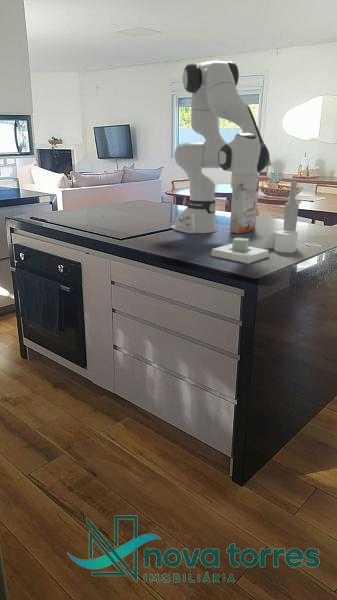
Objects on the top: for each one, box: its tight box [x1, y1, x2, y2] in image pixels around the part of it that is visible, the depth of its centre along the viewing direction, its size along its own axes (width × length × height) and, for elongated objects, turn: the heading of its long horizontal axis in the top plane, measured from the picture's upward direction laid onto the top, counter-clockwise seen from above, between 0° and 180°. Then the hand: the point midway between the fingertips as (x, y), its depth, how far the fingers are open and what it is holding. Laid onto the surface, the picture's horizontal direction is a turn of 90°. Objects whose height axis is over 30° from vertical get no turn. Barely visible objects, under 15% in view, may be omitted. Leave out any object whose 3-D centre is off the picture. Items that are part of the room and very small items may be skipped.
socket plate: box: [211, 243, 270, 264], centre depth 163 cm, size 16×13×2 cm
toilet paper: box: [262, 229, 299, 254], centre depth 171 cm, size 8×11×7 cm
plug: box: [231, 237, 250, 253], centre depth 162 cm, size 5×4×6 cm
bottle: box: [282, 181, 300, 232], centre depth 175 cm, size 5×5×25 cm
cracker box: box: [229, 184, 260, 235], centre depth 204 cm, size 14×6×21 cm, turn 140°
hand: (241, 222), depth 159 cm, fingers closed
